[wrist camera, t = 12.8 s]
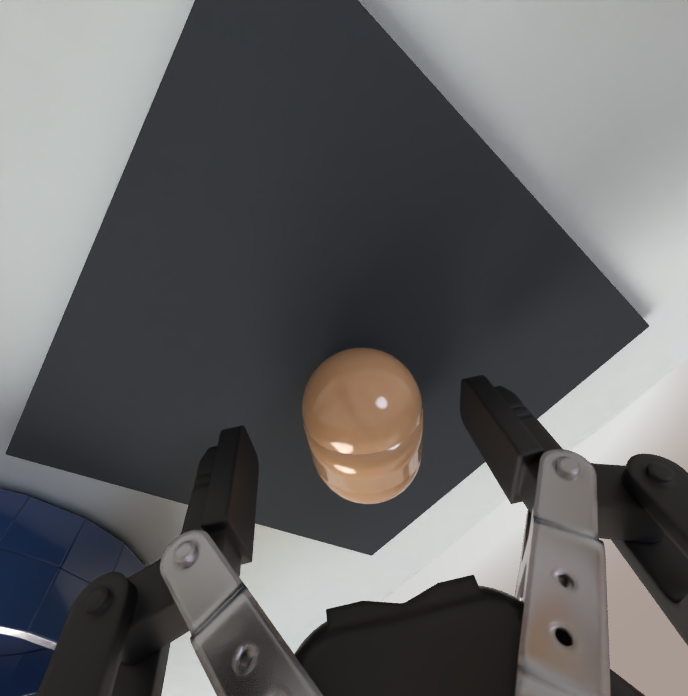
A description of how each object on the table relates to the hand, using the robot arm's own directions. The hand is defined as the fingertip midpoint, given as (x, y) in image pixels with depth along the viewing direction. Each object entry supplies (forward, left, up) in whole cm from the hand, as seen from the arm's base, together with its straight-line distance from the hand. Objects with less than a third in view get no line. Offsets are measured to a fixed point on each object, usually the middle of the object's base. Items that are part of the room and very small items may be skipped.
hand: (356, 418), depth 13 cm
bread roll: (+1, 0, -2) cm, 2 cm away
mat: (0, 0, -3) cm, 3 cm away
